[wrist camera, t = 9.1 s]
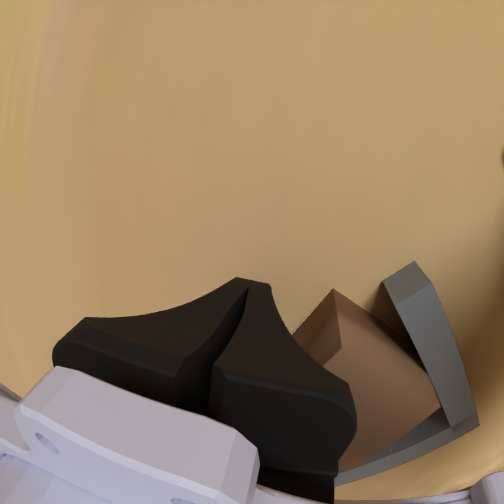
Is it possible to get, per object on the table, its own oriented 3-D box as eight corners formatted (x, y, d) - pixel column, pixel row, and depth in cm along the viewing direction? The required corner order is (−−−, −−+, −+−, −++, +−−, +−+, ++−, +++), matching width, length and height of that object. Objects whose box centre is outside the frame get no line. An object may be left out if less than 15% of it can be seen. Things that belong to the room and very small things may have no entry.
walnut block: (332, 286, 12) (342, 347, 8) (415, 344, 12) (440, 406, 9) (262, 365, 14) (247, 430, 10) (343, 408, 14) (346, 471, 10)
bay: (414, 261, 11) (431, 282, 9) (468, 400, 13) (479, 425, 11) (185, 380, 15) (172, 407, 13) (290, 473, 17) (287, 497, 15)
